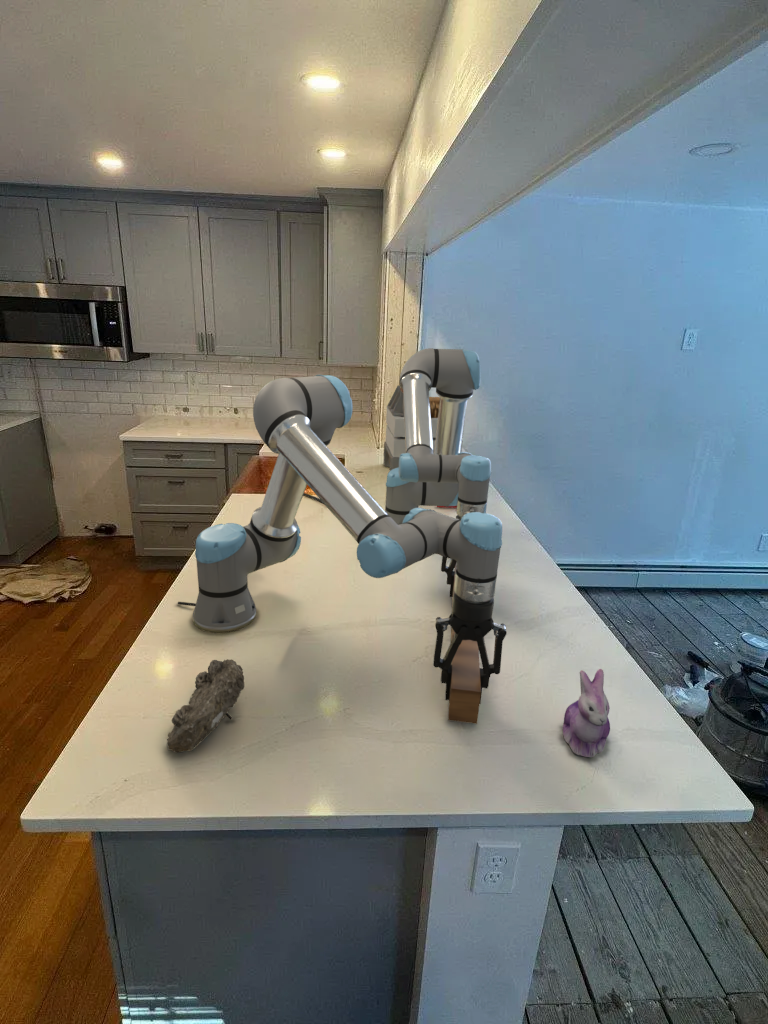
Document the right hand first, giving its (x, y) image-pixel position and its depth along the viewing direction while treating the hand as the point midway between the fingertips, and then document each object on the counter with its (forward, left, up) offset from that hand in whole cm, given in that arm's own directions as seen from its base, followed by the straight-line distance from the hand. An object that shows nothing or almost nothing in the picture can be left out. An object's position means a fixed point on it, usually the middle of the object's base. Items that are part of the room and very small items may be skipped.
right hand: (462, 595), depth 154 cm
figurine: (+50, -21, -2) cm, 55 cm away
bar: (+15, -16, -1) cm, 22 cm away
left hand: (+29, -32, 0) cm, 43 cm away
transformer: (-100, +80, -2) cm, 128 cm away
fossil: (+2, -73, -2) cm, 73 cm away
